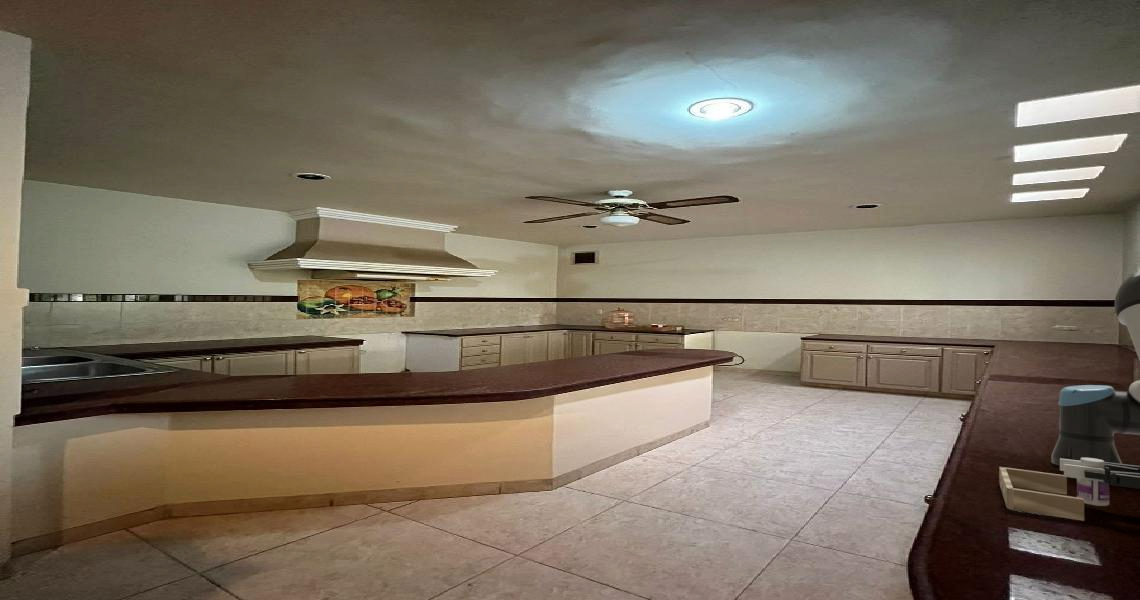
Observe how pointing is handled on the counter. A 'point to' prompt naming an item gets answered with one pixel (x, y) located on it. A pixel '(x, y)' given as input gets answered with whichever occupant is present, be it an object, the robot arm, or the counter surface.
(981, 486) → the counter surface
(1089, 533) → the counter surface
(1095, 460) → the pill bottle
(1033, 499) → the wooden frame
